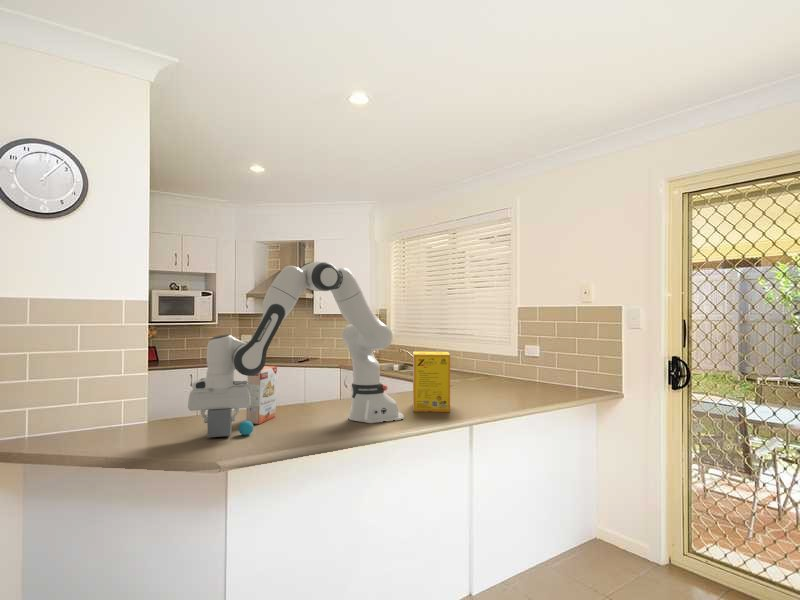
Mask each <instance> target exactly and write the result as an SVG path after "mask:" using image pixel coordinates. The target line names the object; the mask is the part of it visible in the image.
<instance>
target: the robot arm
mask: <svg viewBox="0 0 800 600" xmlns="http://www.w3.org/2000/svg"><path fill="white" fill-rule="evenodd" d="M305 290H309V291H310V290H311V291H314V292H315V291H316V292H321V291H322V292H330V293H331V294H332V295H333V296H332V297H333V298H334V300H335V302H336V305H337V308H338V309H339V312H340V313H341V316H342V318H343V319H345V321H347V322H348V323H350V324H347V325H346V326H345V327H344V328H343V330H342V333H341V334H342V335H341V338H342V341H343V343H344V344H345V345H346V347H347V349H348V351H349V354H350V357H351V362H352V363H351V364H352V383H351V391H350V392H351V394H350V395H351V403H350V404H351V406H350V410H349V415H348V420H349V421H354V422H362V423H367V424H375V423H383V421H386V422H392V421H393V420H395V421H402V420H401V419H403V420H404V418H405V416H404V414H403V413H402V412H400V411H399V406H398V404H397V402H396V400H395V399H393V398H392V397H391V396H390V395H388V394H387V393H386V392H385V391H387V390H388V386H387V385H386V384H383V383H381V365H380V362H379V361H378V360H377V359H376V357H375V355H374V351H380V350H386V349H387V348H389V347H390V346H391V344H392V342H393V338H394V336H393V331H392V329H391V328H390V327H389V326H388V325H386V324H385V323H383V322H382V321H381V320H380V319H379V317H378V316H377V314H375V313H374V311H373V310H372V309H371V307H370V306H369V304H368V302H367V300H366V297H365V296H364V293H363V291H362V289H361V287H360V284H359V283H358V281H357V278H356V277H355V275H354V274H353V273H352V272H351V270H350V269H349V268H346V267H339V268H337V267H336V266H335V265H334V264H332V263H330V262H323V261H315V262H307V263H305V264H303V265H301V266H295V265H287V266H285V267H284V268H282V270H281V271H280V272H279V273H278V275H276V277H275V278H274V279H273V282H272V283H271V285H270V286H269V287H268V290H267V292H266V294H265V296H264V299H263V301H262V309H263V310H262V316H261V320H260V322H259V324H258V326H257V327H256V329H255V331H254V333H253V335H252V337H251V338H250V339H249V341H248V342H245V341H242V340H240V339H238V338H237V337H234V336H233V335H232V334H221V335H216V336H213V337H212V338H210V339H209V340H208V343H207V348H206V364H207V365H206V366H207V370H206V377H203V378H200V379H197V380H195V381H194V382H192V384H191V388H192V390H191V391H190V392H189V395H188V400H187V409H188V410H189V411H191V412H192V411H200V415H201V417H202V418H203V424H207V423H208V416H207V414H206V411H208V410H214V409H232V410H234V414H232V416H231V421H232V422H236V417H237V415H238V413H239V411H240V409H247V408H248V407H249V406H250V404H251V400H250V392H251V390H252V385H251V383H249V382H248V380H235V378H234V376H235V375H234V374H235V372H234V371H235V370H236V371H237V372H238V373H239V374H241V375H243V376H246V377H248V376H252V375H255V374H257V373H259V372H260V371H261V370H262V369H263V367H264V366H266V361H267V353H268V350H269V346H270V345H271V343H272V341H273V339H274V337H275V335H276V333H277V331H278V330H279V328H280V326H281V325H282V324H283V322H284V320H285V319H286V318H287V316H289V314H290V313H291V311H292V310H293V309H294V307H295V306H296V304H297V302H298V300H299V298H300V296H301V295H302V294H303V293H304V292H305ZM247 383H249V384H247ZM393 422H394V421H393Z"/></svg>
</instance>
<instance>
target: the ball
mask: <svg viewBox="0 0 800 600" xmlns="http://www.w3.org/2000/svg"><path fill="white" fill-rule="evenodd" d="M253 431H254V424H252V423H251V422H250V421H246V420H243V421H241V422H240V423H239V425H238V432H239V434H241V436H249V435H250V434H252V433H253Z"/></svg>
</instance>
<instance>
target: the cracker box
mask: <svg viewBox="0 0 800 600" xmlns="http://www.w3.org/2000/svg"><path fill="white" fill-rule="evenodd" d="M277 373H278V367H277V366H269V365H268V366H267V365H264V367H263V369H262V370H261V371H260V372H259V373H257V374H255V375H252V376H247V382H249V383H251V385H252V390H251V392H250V400H251V404H250V406H249V407H248V408H246V418H245V421H250V422H251V423H252V424H253V425H261V424H262V423H264V422H265V423H266V422H267V421H269V420H272V419H274V418H276V414H277V413H276V411H277V410H276V408H277V407H276V406H277V379H278V377H277V376H278V374H277ZM249 383H247V384H249Z"/></svg>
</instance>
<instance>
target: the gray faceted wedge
mask: <svg viewBox="0 0 800 600" xmlns="http://www.w3.org/2000/svg"><path fill="white" fill-rule="evenodd" d="M232 411H233V408H232V409H214V410H207V417H208V423H206V424H207V433H206V434H207V438H217V437H220V438H221V437H230V436H231V435H232V430H233V427H232V426H233V425H232V424H233V421H231V416H232V415H233V412H232Z"/></svg>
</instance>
